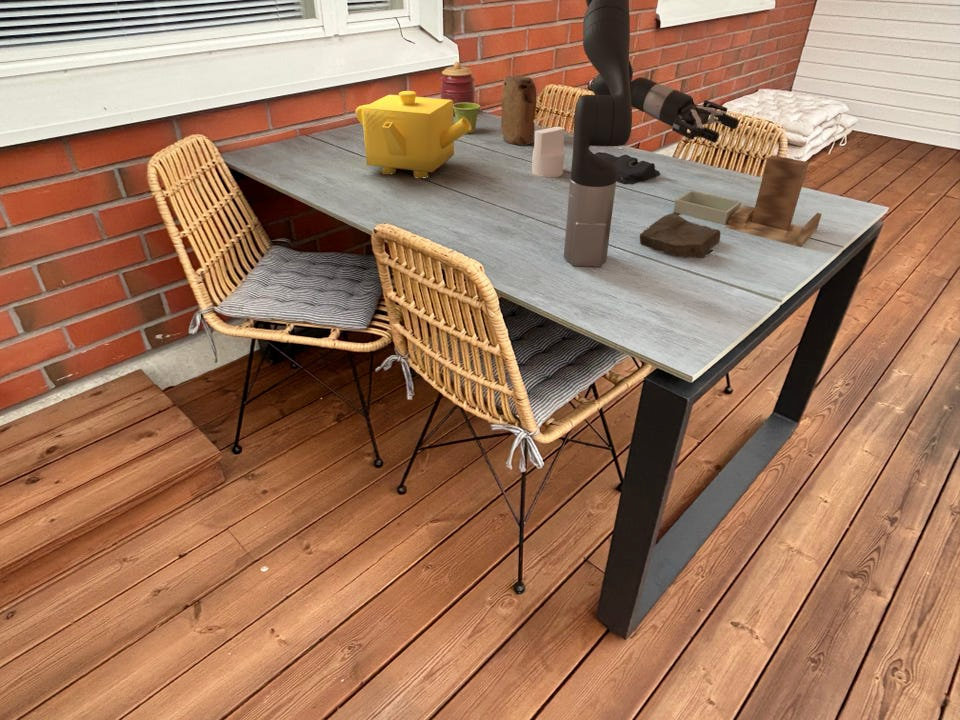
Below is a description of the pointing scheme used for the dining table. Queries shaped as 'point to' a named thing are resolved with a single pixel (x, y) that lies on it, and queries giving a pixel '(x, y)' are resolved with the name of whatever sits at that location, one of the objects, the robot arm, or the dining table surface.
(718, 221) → the tray
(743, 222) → the rack
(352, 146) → the dining table surface
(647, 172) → the dark slate chunk
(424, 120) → the cube teapot
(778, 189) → the board
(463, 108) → the plant pot
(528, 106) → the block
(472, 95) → the canister
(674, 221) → the brown irregular slab
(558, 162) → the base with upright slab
